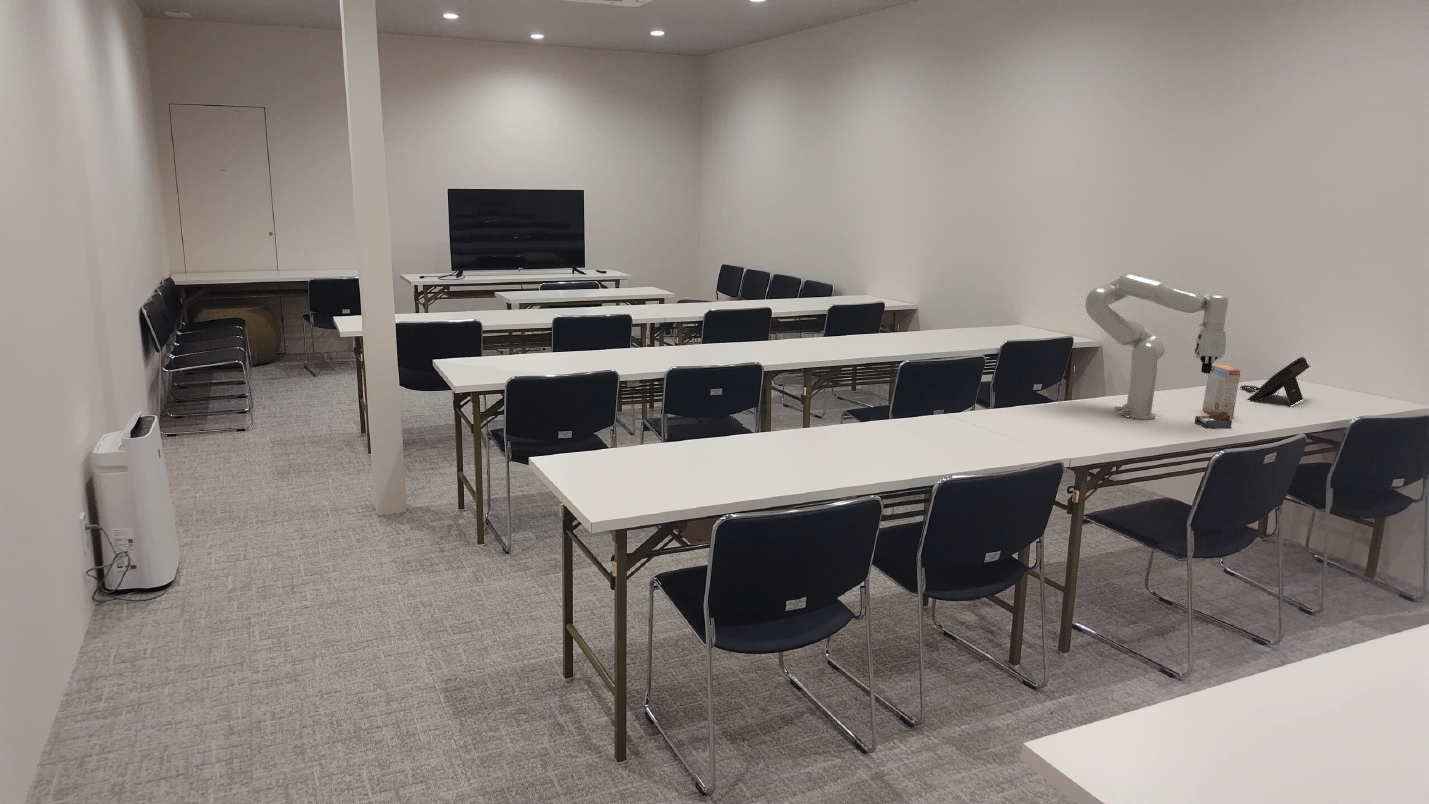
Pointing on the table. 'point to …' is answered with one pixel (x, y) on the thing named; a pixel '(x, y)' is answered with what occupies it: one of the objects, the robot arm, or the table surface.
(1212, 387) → the cracker box
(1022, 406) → the table surface
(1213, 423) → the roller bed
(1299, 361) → the office phone
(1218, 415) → the slab
